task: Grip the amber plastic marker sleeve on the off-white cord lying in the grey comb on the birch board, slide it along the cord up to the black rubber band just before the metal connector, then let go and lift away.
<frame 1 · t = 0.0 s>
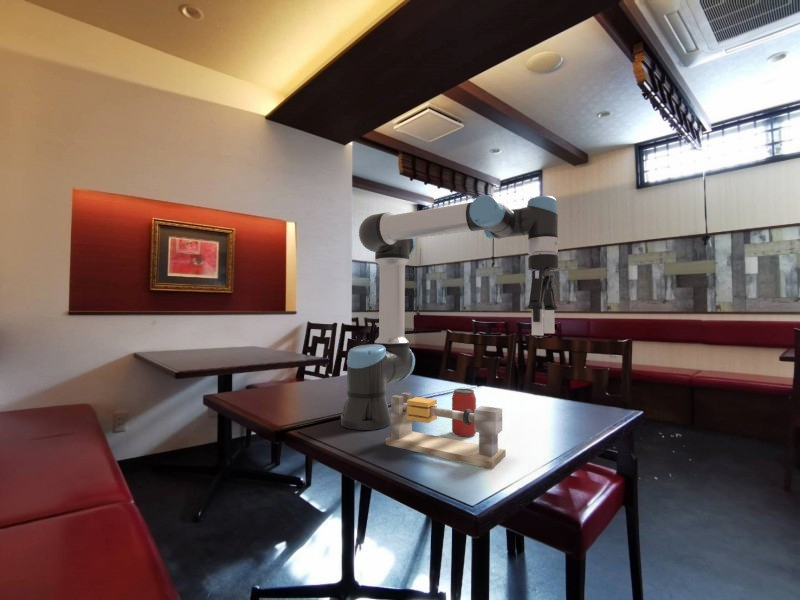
hand: (543, 334, 102), 28 cm above the table, fingers open, 13 cm apart
cord board: (443, 450, 94), on the table
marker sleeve: (421, 409, 97), point 9 cm above the table, slide at 0.0 cm
beer can: (464, 434, 107), on the table
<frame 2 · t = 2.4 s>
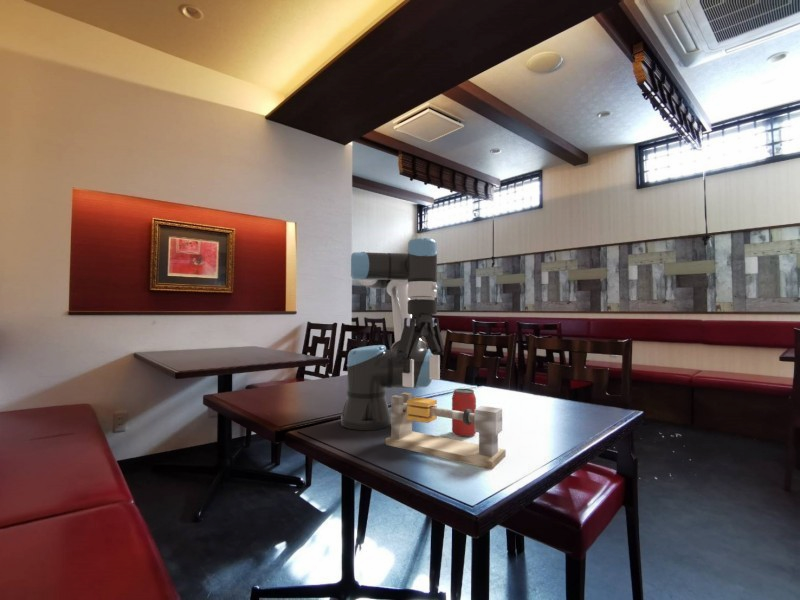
hand: (422, 382, 97), 16 cm above the table, fingers open, 13 cm apart
nothing on the table moved.
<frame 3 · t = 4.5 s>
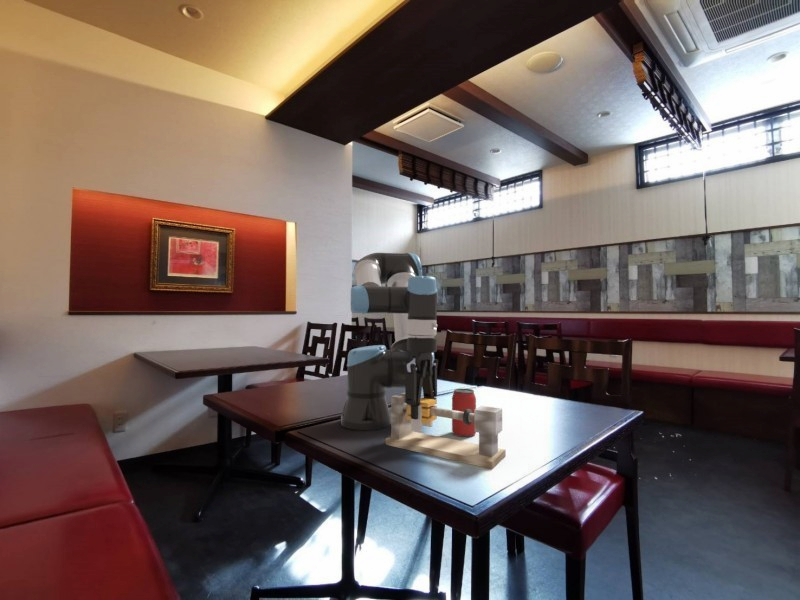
hand: (421, 428, 97), 4 cm above the table, fingers closed on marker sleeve, 5 cm apart
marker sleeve: (421, 409, 97), point 9 cm above the table, slide at 0.0 cm, touching gripper
everything else where it was.
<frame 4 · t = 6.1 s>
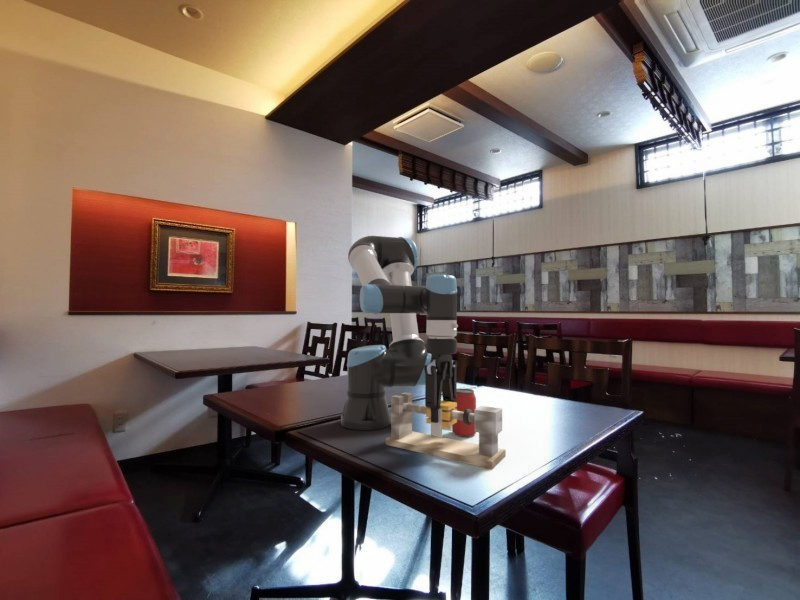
hand: (441, 432, 94), 4 cm above the table, fingers closed on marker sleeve, 5 cm apart
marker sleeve: (441, 412, 94), point 9 cm above the table, slide at 5.6 cm, touching gripper
everything else where it was.
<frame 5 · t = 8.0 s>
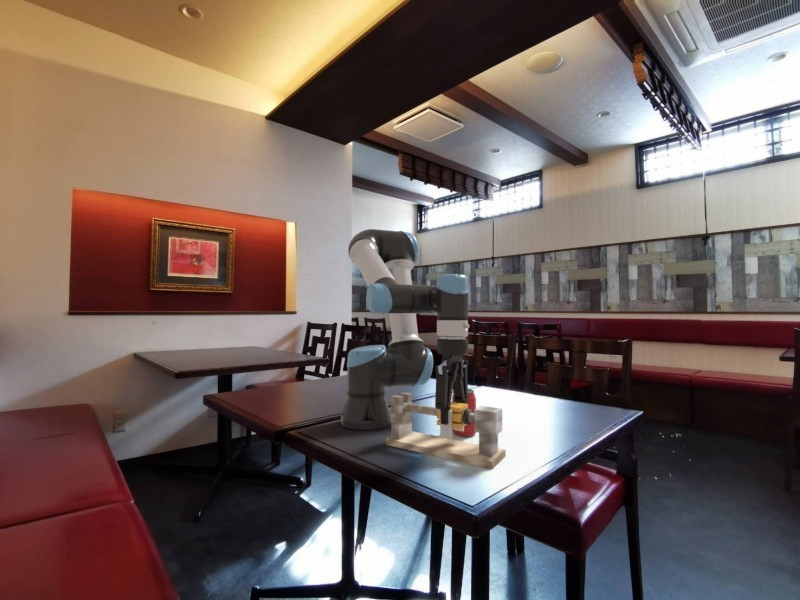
hand: (452, 433, 93), 4 cm above the table, fingers open, 6 cm apart
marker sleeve: (452, 414, 93), point 9 cm above the table, slide at 8.5 cm
everything else where it was.
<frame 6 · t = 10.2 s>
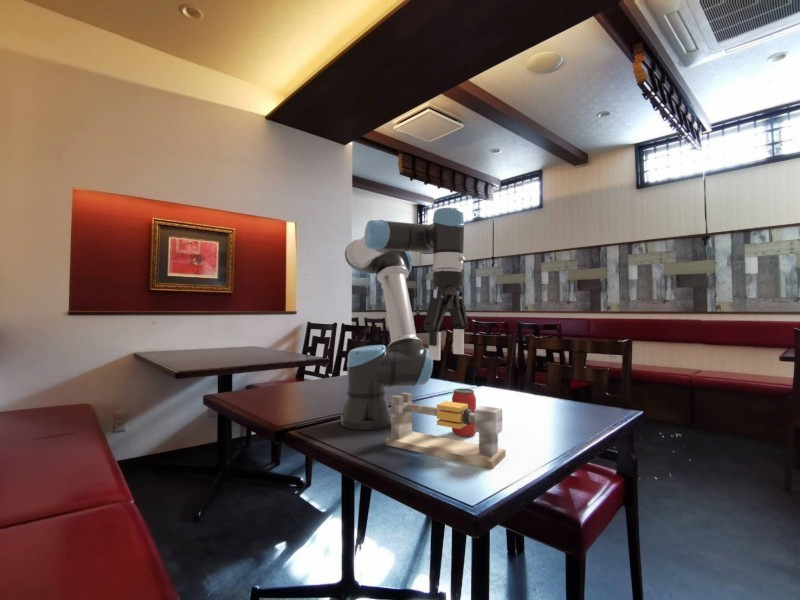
hand: (447, 356, 95), 23 cm above the table, fingers open, 13 cm apart
nothing on the table moved.
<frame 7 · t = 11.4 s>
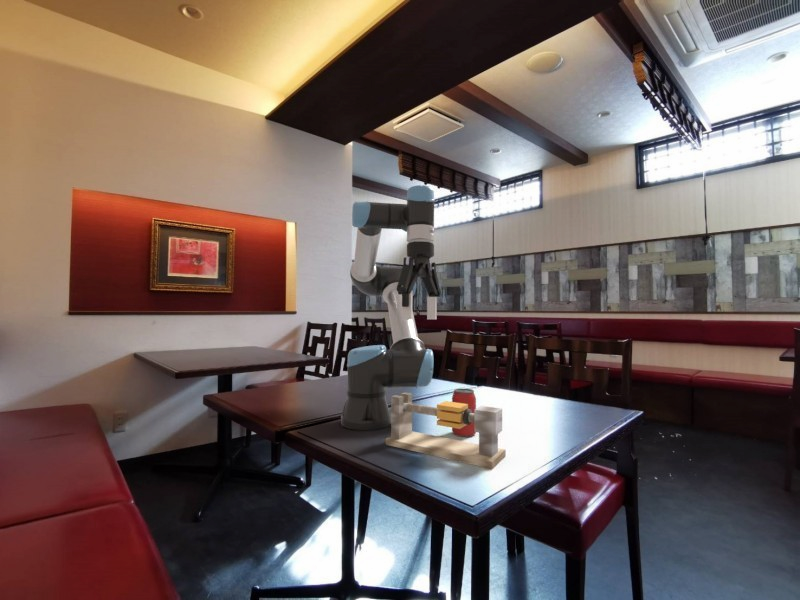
hand: (420, 319, 106), 32 cm above the table, fingers open, 13 cm apart
nothing on the table moved.
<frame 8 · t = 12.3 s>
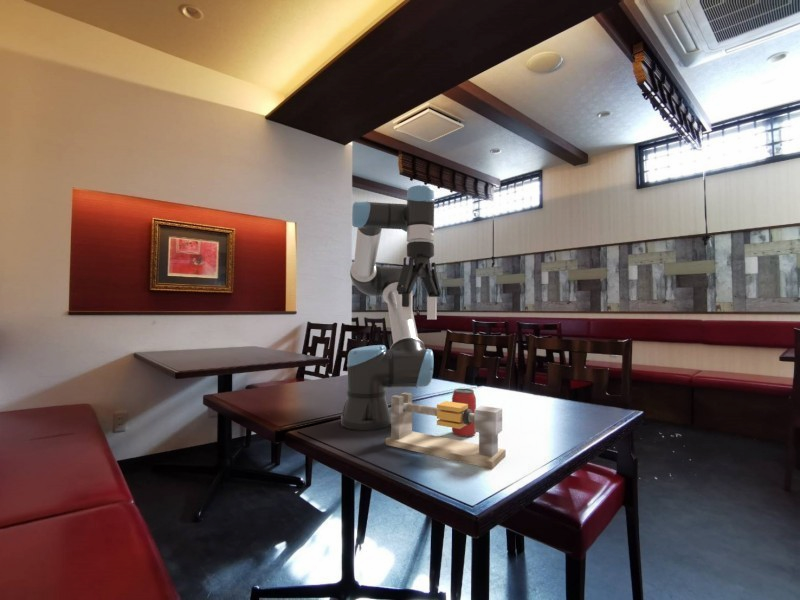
hand: (420, 319, 106), 32 cm above the table, fingers open, 13 cm apart
nothing on the table moved.
at the end: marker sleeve slide at 8.5 cm; the gripper is holding nothing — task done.
